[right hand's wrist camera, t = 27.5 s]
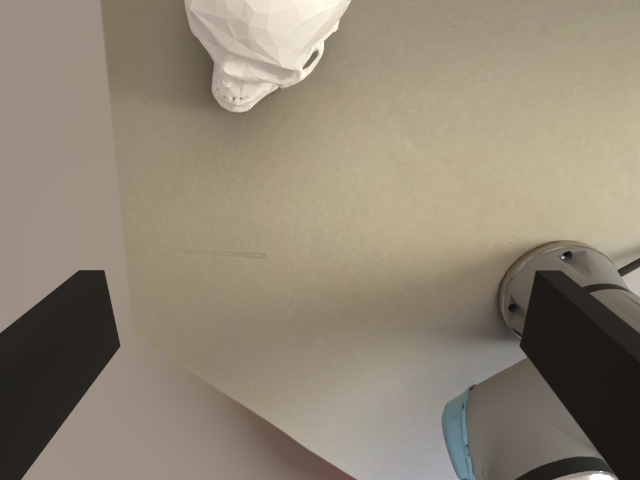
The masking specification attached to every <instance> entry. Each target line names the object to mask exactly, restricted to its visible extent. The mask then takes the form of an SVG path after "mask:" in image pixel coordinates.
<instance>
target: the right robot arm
mask: <svg viewBox="0 0 640 480" xmlns="http://www.w3.org/2000/svg"><path fill="white" fill-rule="evenodd" d="M639 267H640V258H639V259H637V260H635V261H634V262H632V263H630V264H628V265H626V266H624V267H623V268H621V269H619V270H617V269H616V268H615V266H614V265H613V263H612V262H611V261H610V260H609V259H608V258H607V257H606V256H605V255H603V254H602V253H600V252H599V251H597V250H596V249H594V248H592V247H590V246H588V245H586V244H583V243H580V242H574V241H558V242H552V243H548V244H545V245H542V246H539V247H537V248H535V249H533V250H531V251H529V252H528V253H526V254H525V255H523V256H522V257H521V258H520V259H519V260H517V261H516V262H515V263H514V264H513V266H512V267H511V268H510V269H509V270H508V272H507V273H506V275H505V277H504V279H503V281H502V283H501V286H500V289H499V294H498V305H499V310H500V313H501V316H502V318H503V319H504V321H505V322H506V324H507V325H508V326H509V328H510V329H511V330H512V331H513V333H514V334H515V335H516V336H518V337H519V338H520V339H521V342H520V347H521V349H522V350H523V351H524V353H525V354H526V355H527V358H525V359H524V360H522V361H520V362H518V363H516V364H514V365H512V366H511V367H509V368H507V369H505V370H503V371H501V372H500V373H498V374H496V375H494V376H492V377H490V378H489V379H487V380H485V381H483V382H481V383H479V384H477V385H472V386H470V387H469V388H468V389H467V390H466V391H465V392H464V393H462V394H460V395H459V396H457V397H456V398H454V399H452V400H451V401H449V402H448V403H447V404H446V406H445V408H444V412H443V414H442V429H443V435H444V439H445V443H446V447H447V450H448V453H449V456H450V459H451V462H452V465H453V467H454V470H455V472H456V475H457V476H458V478H459V479H460V480H618V479H619V480H640V297H638V296H637V295H635V294H634V293H632V292H631V291H629V289H628V288H627V286H626V284H625V283H624V281H623V279H622V278H621V277H622V276H624V275H626V274H628V273H629V272H631V271H633V270H635V269H637V268H639ZM512 331H511V332H512ZM119 347H120V342H119V337H118V333H117V328H116V323H115V319H114V314H113V309H112V304H111V300H110V295H109V290H108V286H107V281H106V276H105V272H104V270H79V271H78V272H76V273H75V274H74V275H73V276H71V277H70V278H69V279H68V280H66V281H65V282H64V283H63V284H61V285H60V286H59V287H58V288H56V289H55V290H54V291H53V292H51V293H50V294H49V295H48V296H46V297H45V298H44V299H43V300H41V301H40V302H39V303H38V304H36V305H35V306H34V307H33V308H31V309H30V310H29V311H28V312H26V313H25V314H24V315H23V316H21V317H20V318H19V319H17V320H16V321H15V322H14V323H12V324H11V325H10V326H9V327H7V328H6V329H5V330H4V331H2V332H1V333H0V480H21V479H22V478H23V476H24V475H25V474H26V472H27V471H28V469H29V468H30V467H31V465H32V464H33V463H34V461H35V460H36V459H37V457H38V456H39V455H40V453H41V452H42V451H43V449H44V448H45V447H46V445H47V444H48V442H49V441H50V440H51V439H52V437H53V436H54V435H55V433H56V432H57V431H58V429H59V428H60V427H61V425H62V424H63V422H64V421H65V420H66V418H67V417H68V416H69V414H70V413H71V412H72V410H73V409H74V408H75V406H76V405H77V404H78V402H79V401H80V400H81V398H82V397H83V396H84V394H85V393H86V392H87V390H88V389H89V387H90V386H91V385H92V383H93V382H94V381H95V380H96V378H97V377H98V375H99V374H100V373H101V371H102V370H103V369H104V367H105V366H106V365H107V363H108V362H109V361H110V359H111V358H112V357H113V355H114V354H115V353H116V351H117V350H118V349H119ZM608 465H609V466H608ZM610 468H611V469H612V470H611V469H610ZM613 472H614V473H613ZM615 475H616V476H617V477H616V476H615Z"/></svg>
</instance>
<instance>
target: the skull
mask: <svg viewBox="0 0 640 480" xmlns="http://www.w3.org/2000/svg"><path fill="white" fill-rule="evenodd" d="M350 1H351V0H184V2H185V10H186V13H187V17H188V21H189V25H190V29H191V31H192V33H193V35H194V36H196V37H197V38H198V39H199V40H200V42H201V43H202V45H203V46H204V47H205V49H206V50H207V51H208V53H209V54H210V56H211V58H212V59H213V61H214V71H213V76H212V79H213V80H212V93H213V96H214V97H215V99H216V100H217V101H218V103H219V104H220V105H221V107H223V108H225V109H227V110H228V111H230V112H245V111H248V110H249V109H251V108H252V107H253V106H254V105H255V104H256V103H257V102H258V101H260V100H261V99H262V98H263V97H265V96H266V95H268V94H269V93H271V92H273V91H274V90H276V89H277V88H279V87H280V88H281V89H282V88H287V87H289V86H291V85H294V84H296V83H298V82H300V81H301V80H303V79H304V78H305V77H306V76H307V75H308V74H309V73H311V72H312V71H313V69H314V68H315V66H316V65H317V63H318V62H319V60H320V58H321V56H322V54H323V51H324V41H325V40H326V39H327V38H328V37H329V36H330V35H331V34H332V33H333V32H336V30H337V29H338V24H339V20H340V18H341V16H342V15H343V13H344V12H345V10H346V8H347V7H348V5H349V3H350ZM317 50H318V57H317V58H316V59H315V60H314V61H313V63H312V64H311V65H310V66H309V67H307V68H306V69H303V68H302V67H303V66H304V65H305V64H306V62H307V61H308V60H309V58H310V57H311V55H312V53H313V52H315V51H317Z"/></svg>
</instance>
